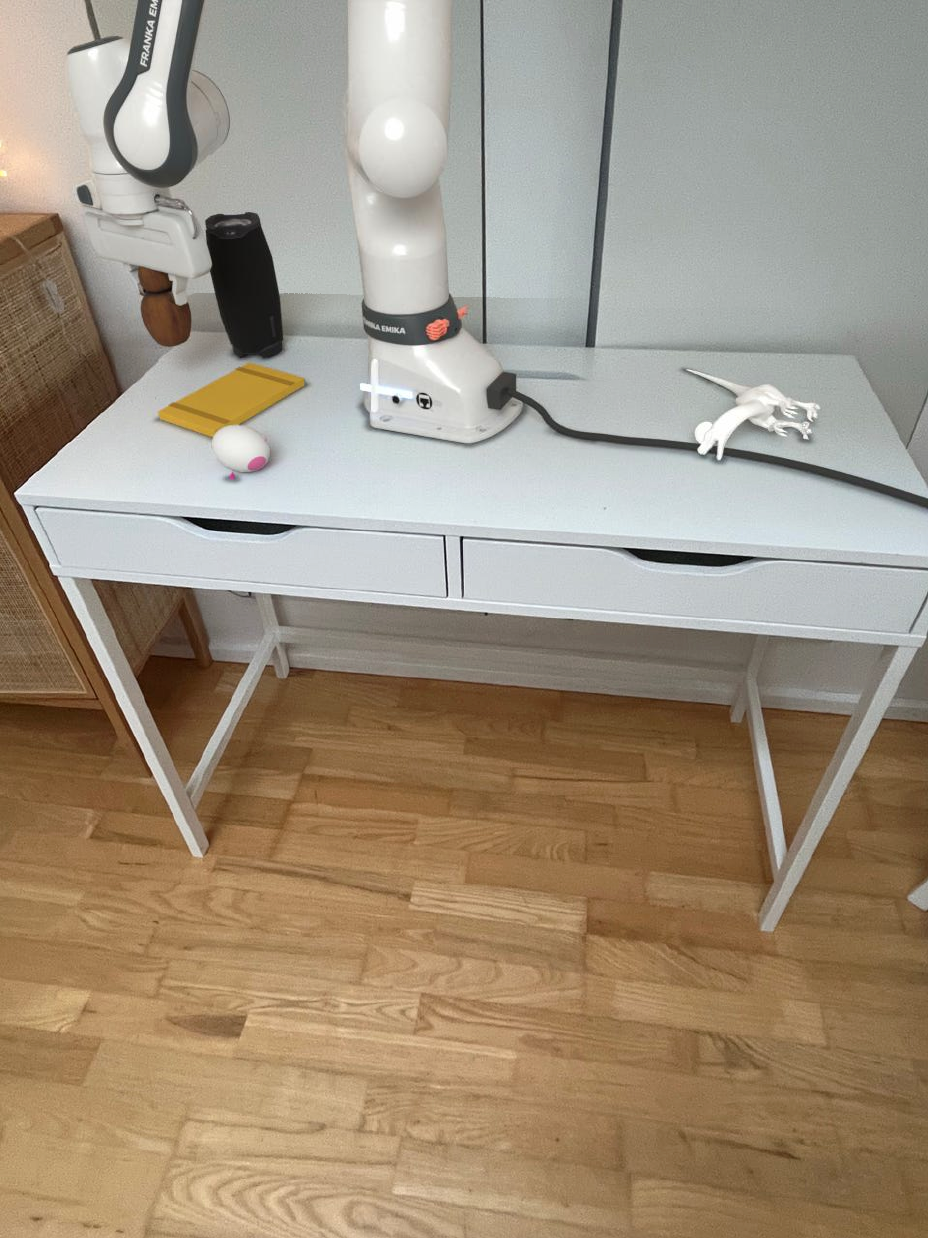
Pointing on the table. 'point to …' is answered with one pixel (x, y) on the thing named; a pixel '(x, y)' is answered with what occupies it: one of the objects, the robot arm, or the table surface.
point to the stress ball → (240, 448)
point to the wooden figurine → (163, 309)
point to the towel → (231, 399)
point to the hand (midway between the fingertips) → (162, 299)
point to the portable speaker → (245, 283)
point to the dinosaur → (750, 414)
